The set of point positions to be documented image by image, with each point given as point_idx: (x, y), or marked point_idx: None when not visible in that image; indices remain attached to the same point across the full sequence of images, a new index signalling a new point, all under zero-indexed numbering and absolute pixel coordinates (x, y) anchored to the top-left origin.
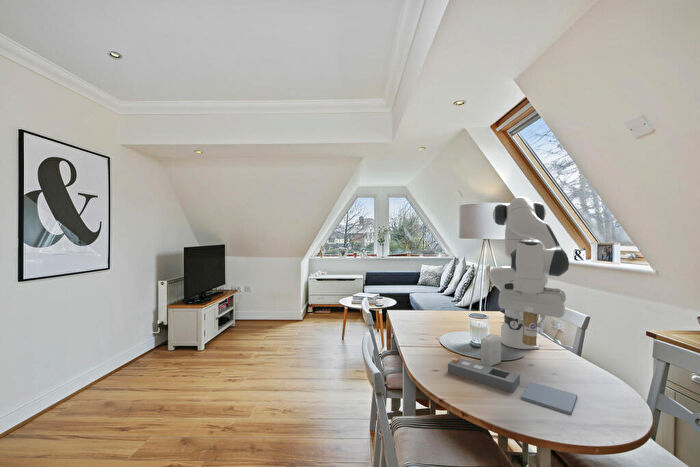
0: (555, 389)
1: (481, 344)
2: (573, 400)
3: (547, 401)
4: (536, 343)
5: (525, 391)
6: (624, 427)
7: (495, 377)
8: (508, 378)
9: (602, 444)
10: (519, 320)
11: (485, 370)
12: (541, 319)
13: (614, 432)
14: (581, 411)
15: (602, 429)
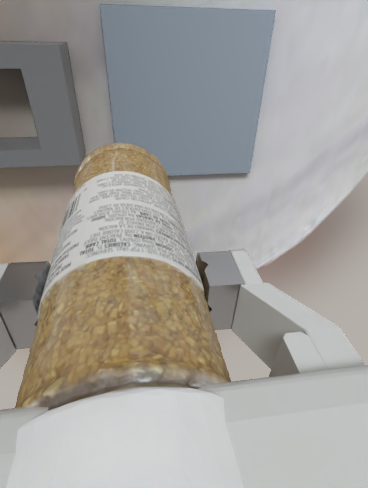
0: (201, 19)
1: None
2: (260, 84)
3: (190, 154)
4: (169, 187)
5: (118, 132)
6: (357, 142)
7: (11, 166)
8: (50, 138)
9: (293, 243)
10: (14, 337)
11: None
12: (269, 363)
13: (327, 184)
14: (273, 128)
15: (305, 189)
